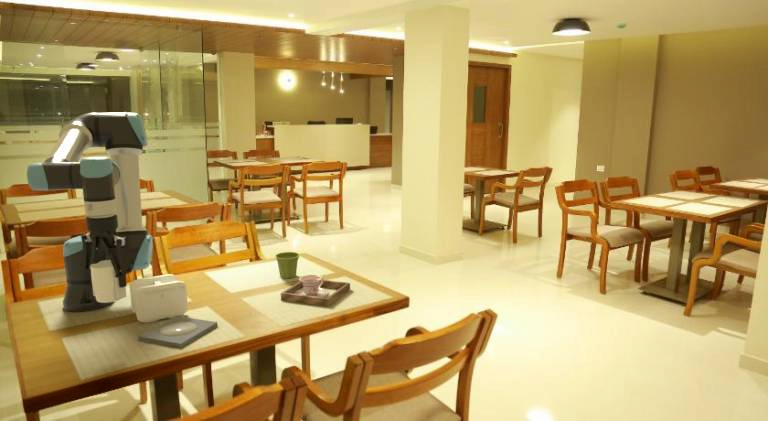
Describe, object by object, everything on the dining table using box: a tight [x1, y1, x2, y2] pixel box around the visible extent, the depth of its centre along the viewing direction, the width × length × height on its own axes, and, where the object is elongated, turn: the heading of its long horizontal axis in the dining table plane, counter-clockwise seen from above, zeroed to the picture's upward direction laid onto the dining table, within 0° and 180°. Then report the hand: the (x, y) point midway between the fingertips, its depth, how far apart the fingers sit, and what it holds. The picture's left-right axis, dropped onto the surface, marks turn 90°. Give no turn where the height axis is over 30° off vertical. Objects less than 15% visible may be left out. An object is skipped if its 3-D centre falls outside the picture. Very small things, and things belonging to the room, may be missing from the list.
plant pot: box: [274, 251, 301, 280], centre depth 209 cm, size 9×9×9 cm
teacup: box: [294, 274, 329, 298], centre depth 189 cm, size 12×12×6 cm
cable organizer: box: [129, 273, 189, 323], centre depth 169 cm, size 15×11×12 cm
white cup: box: [90, 260, 121, 303], centre depth 147 cm, size 8×8×10 cm
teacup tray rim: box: [280, 279, 351, 307], centre depth 189 cm, size 18×18×2 cm
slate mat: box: [137, 315, 218, 349], centre depth 157 cm, size 15×16×1 cm
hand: (109, 296), depth 147 cm, fingers closed on white cup, 8 cm apart
